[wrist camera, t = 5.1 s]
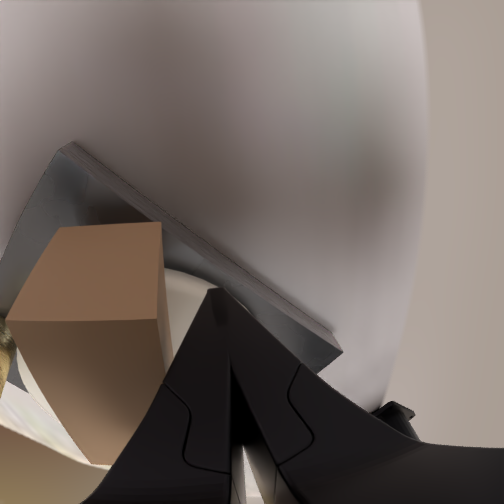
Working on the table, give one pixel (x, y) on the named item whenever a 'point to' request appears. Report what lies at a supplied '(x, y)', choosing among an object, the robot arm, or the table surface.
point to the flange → (101, 330)
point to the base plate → (174, 250)
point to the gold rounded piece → (5, 352)
